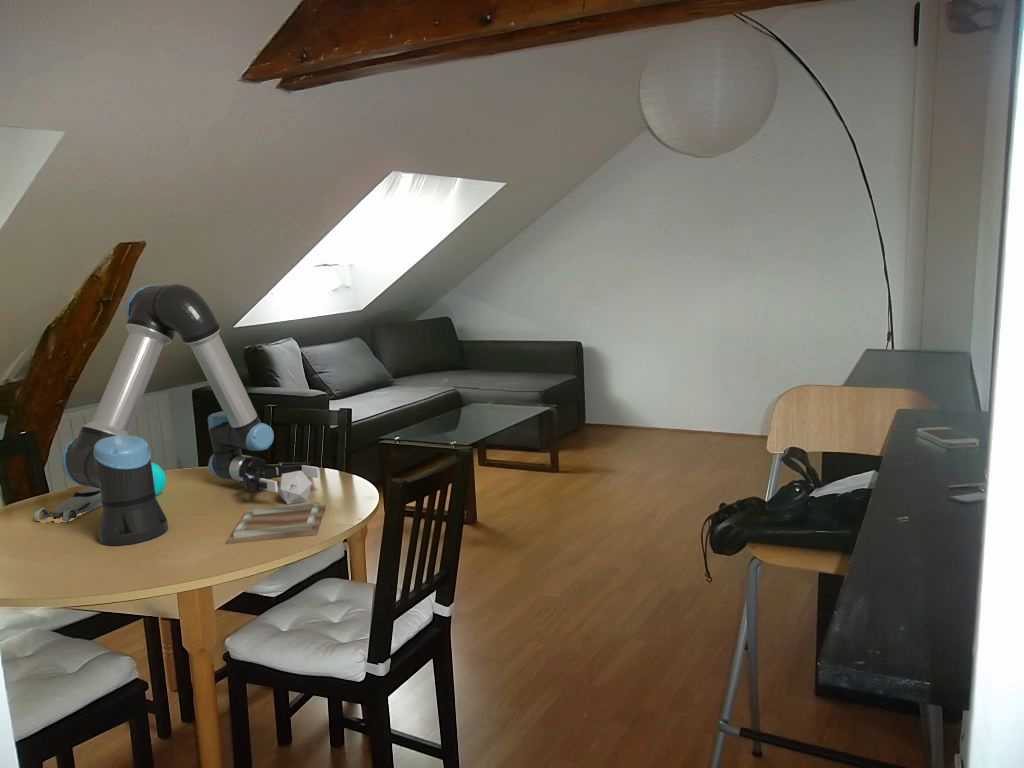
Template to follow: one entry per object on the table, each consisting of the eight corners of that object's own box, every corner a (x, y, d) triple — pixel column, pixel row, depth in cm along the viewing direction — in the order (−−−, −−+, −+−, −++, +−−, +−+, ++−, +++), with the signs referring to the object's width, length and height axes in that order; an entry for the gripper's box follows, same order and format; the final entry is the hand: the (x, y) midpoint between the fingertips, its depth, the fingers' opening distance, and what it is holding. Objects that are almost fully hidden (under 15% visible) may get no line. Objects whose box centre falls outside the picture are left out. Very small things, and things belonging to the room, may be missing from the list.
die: (272, 506, 210) (274, 483, 204) (285, 482, 217) (287, 459, 210) (302, 515, 211) (304, 492, 204) (314, 491, 217) (317, 468, 211)
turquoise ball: (117, 507, 216) (112, 471, 214) (134, 496, 226) (129, 461, 224) (154, 505, 216) (149, 469, 214) (169, 493, 226) (165, 459, 224)
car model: (31, 524, 207) (28, 506, 206) (97, 495, 230) (94, 478, 229) (68, 525, 204) (65, 506, 204) (131, 495, 228) (128, 478, 227)
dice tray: (245, 515, 202) (244, 508, 201) (325, 507, 204) (325, 500, 204) (227, 543, 182) (226, 535, 182) (316, 534, 184) (315, 526, 184)
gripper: (288, 471, 233) (336, 480, 220) (211, 495, 214) (259, 507, 201) (285, 446, 232) (333, 454, 219) (207, 468, 213) (255, 478, 200)
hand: (298, 479), depth 210 cm, fingers open, 13 cm apart
